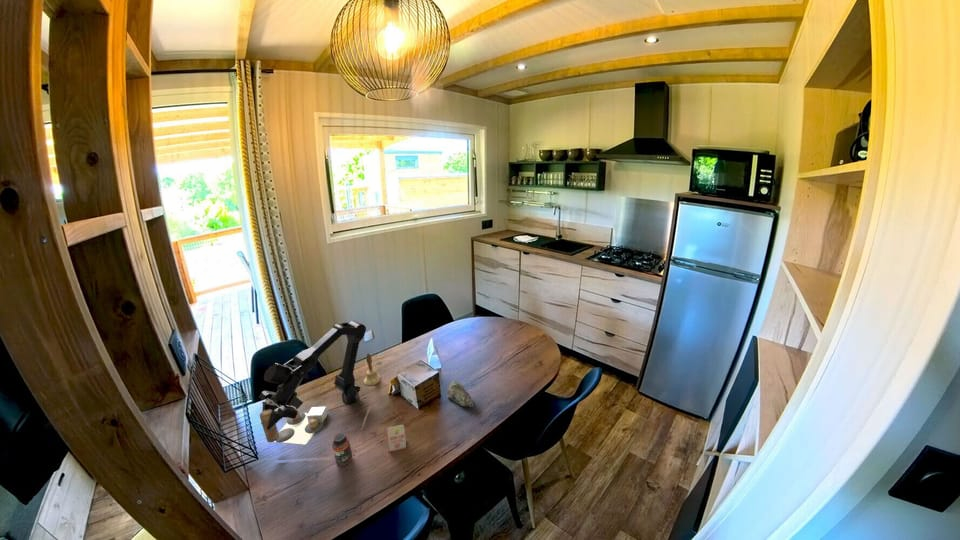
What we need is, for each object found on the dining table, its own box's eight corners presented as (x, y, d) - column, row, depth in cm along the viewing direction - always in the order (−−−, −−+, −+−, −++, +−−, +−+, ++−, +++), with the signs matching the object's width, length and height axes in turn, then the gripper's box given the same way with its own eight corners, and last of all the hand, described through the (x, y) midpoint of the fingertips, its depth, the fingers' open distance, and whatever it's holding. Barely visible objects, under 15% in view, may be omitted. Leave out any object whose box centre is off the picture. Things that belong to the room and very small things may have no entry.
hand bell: (377, 385, 165) (374, 358, 160) (361, 385, 165) (357, 358, 160) (382, 375, 173) (379, 348, 168) (367, 375, 173) (363, 348, 168)
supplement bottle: (346, 450, 129) (342, 427, 125) (355, 457, 126) (351, 434, 122) (332, 461, 124) (327, 438, 121) (341, 469, 121) (337, 445, 117)
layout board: (331, 416, 146) (330, 409, 144) (309, 447, 130) (307, 439, 129) (294, 413, 148) (292, 406, 146) (268, 443, 132) (266, 435, 131)
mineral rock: (474, 410, 149) (474, 391, 146) (450, 414, 146) (450, 396, 143) (468, 391, 161) (467, 374, 157) (446, 395, 158) (445, 378, 155)
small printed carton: (388, 444, 131) (385, 424, 128) (405, 440, 133) (403, 421, 130) (388, 452, 128) (385, 432, 125) (406, 448, 130) (404, 428, 126)
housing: (327, 413, 146) (325, 406, 145) (323, 422, 141) (321, 415, 140) (313, 414, 146) (311, 407, 144) (308, 423, 141) (306, 415, 140)
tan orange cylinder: (281, 434, 128) (274, 409, 124) (274, 442, 124) (266, 417, 120) (271, 433, 129) (264, 408, 125) (264, 441, 125) (256, 416, 121)
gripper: (318, 399, 129) (296, 439, 124) (294, 381, 139) (272, 418, 135) (294, 394, 120) (269, 437, 116) (270, 376, 131) (246, 415, 126)
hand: (265, 426), depth 123 cm, fingers closed on tan orange cylinder, 4 cm apart
